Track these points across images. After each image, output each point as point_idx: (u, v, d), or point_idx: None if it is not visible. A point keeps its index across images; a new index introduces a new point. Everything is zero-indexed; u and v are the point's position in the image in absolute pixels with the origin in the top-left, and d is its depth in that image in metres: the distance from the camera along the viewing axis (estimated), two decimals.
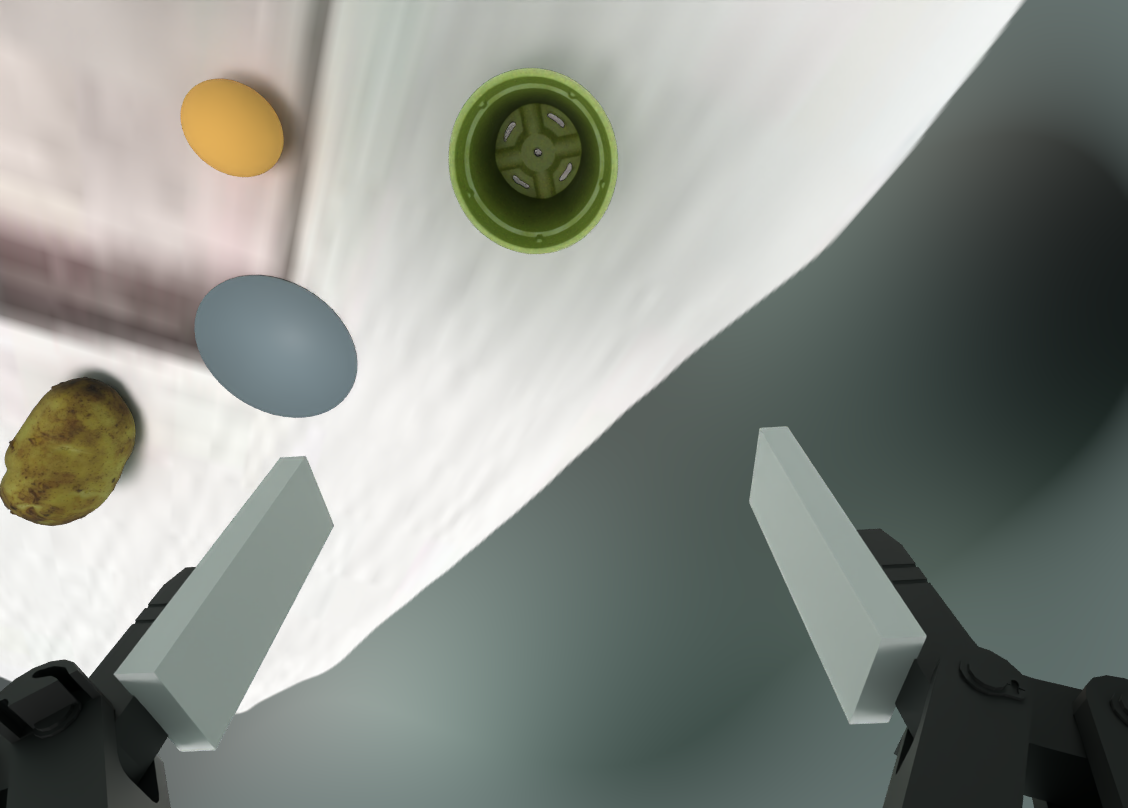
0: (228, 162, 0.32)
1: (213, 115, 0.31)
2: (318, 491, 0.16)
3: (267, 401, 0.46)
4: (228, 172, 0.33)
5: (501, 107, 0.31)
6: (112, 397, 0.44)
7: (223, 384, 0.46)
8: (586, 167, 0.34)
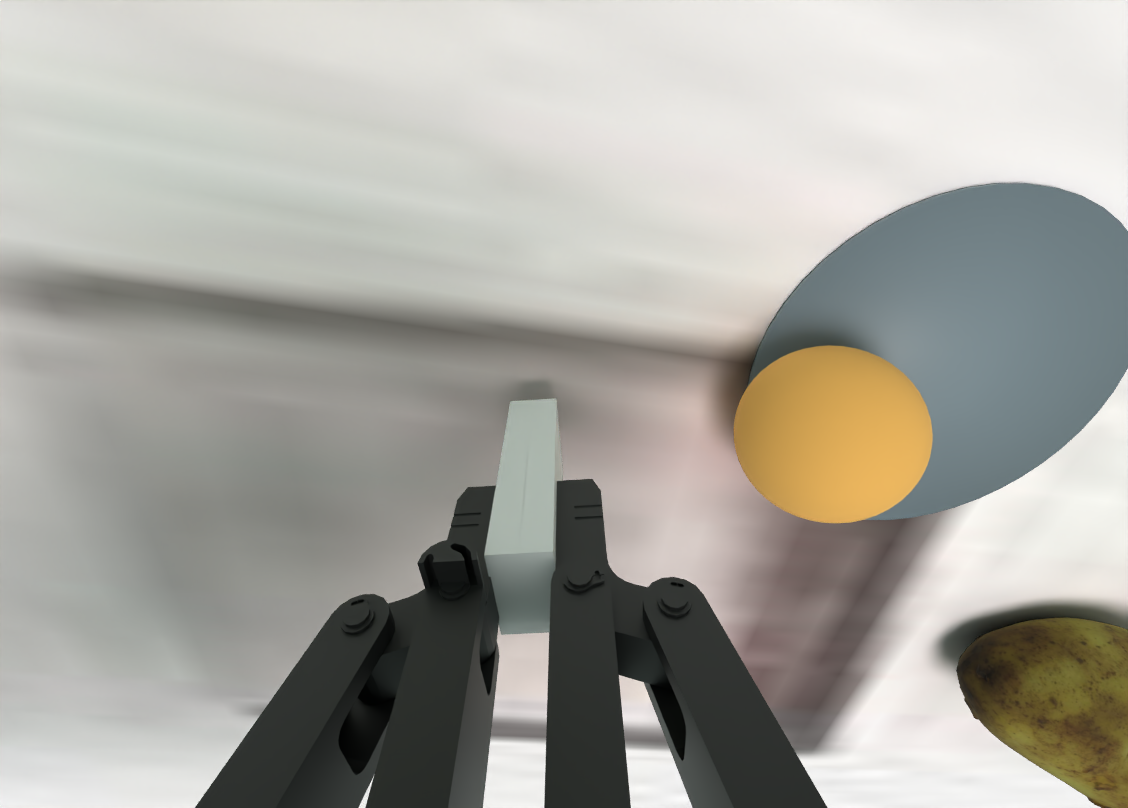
0: (747, 431, 0.16)
1: None
2: None
3: (1069, 403, 0.19)
4: (768, 464, 0.15)
5: None
6: (1009, 649, 0.24)
7: (1004, 482, 0.21)
8: None
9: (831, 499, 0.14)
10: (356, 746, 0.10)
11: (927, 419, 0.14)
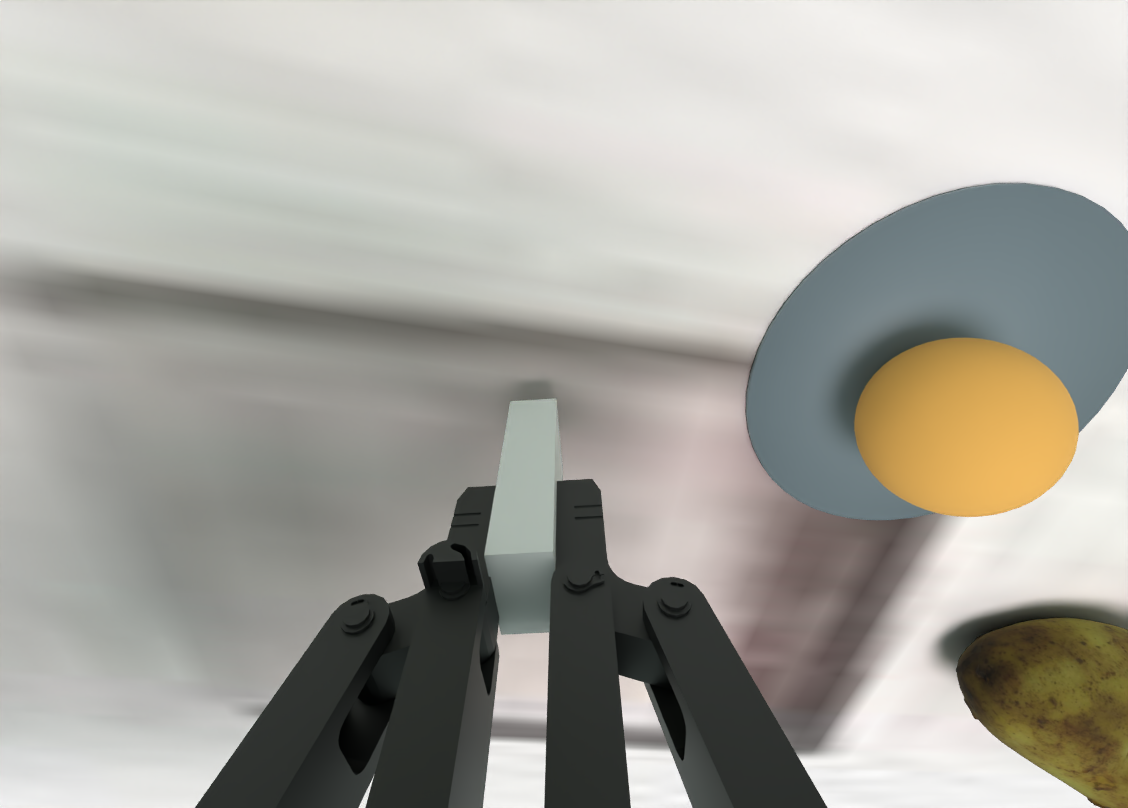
0: (1033, 463, 0.14)
1: (918, 455, 0.15)
2: None
3: None
4: (1061, 470, 0.14)
5: None
6: (1008, 649, 0.24)
7: None
8: None
9: None
10: (356, 746, 0.10)
11: None
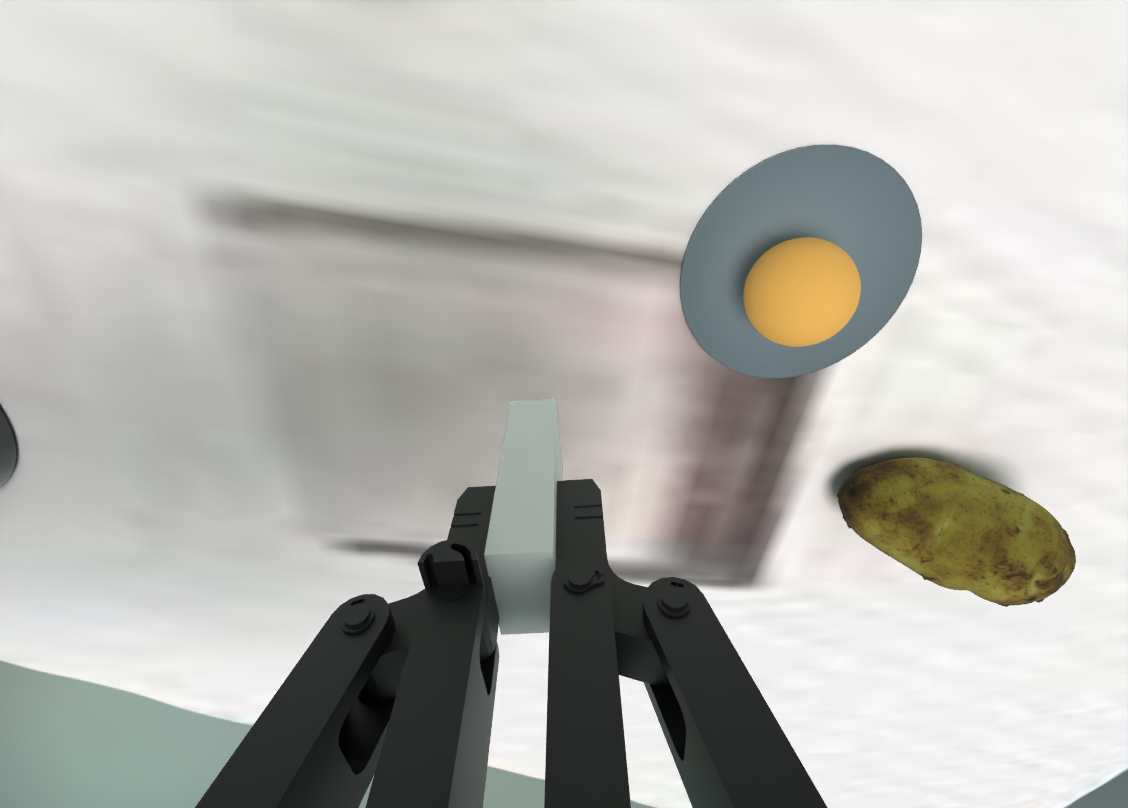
0: (827, 300, 0.24)
1: (769, 302, 0.26)
2: None
3: (886, 290, 0.30)
4: (846, 306, 0.25)
5: None
6: (868, 474, 0.34)
7: (854, 349, 0.32)
8: None
9: None
10: (356, 746, 0.10)
11: None
